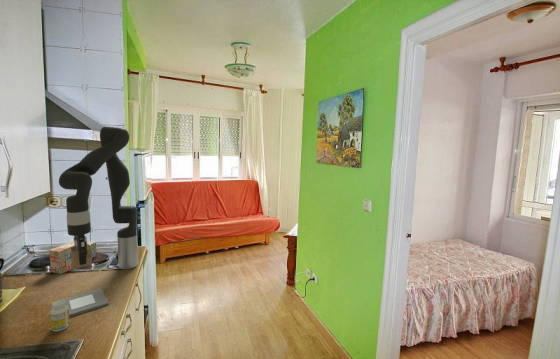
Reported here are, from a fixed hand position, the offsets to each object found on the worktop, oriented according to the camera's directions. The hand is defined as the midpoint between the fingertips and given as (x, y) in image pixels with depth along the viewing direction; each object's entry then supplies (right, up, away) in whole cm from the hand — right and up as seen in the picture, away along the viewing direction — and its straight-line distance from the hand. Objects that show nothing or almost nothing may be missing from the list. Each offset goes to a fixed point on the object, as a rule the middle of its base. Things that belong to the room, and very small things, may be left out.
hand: (81, 261), depth 113 cm
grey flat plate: (-2, -19, +3) cm, 19 cm away
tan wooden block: (0, -1, 0) cm, 1 cm away
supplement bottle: (0, -21, -11) cm, 24 cm away
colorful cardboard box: (-31, -13, +38) cm, 51 cm away
